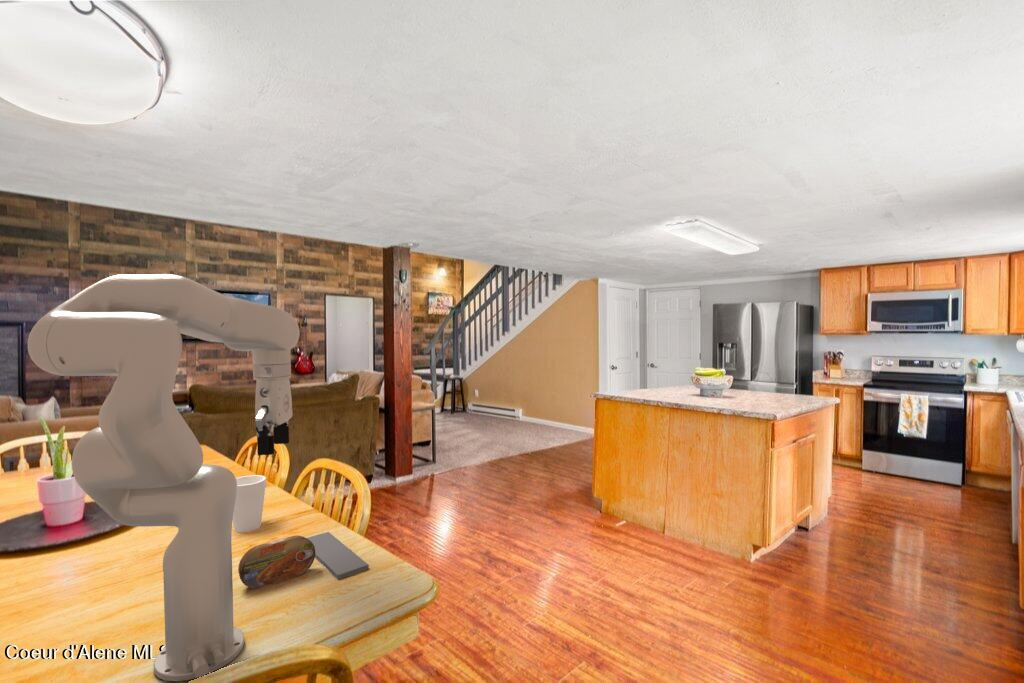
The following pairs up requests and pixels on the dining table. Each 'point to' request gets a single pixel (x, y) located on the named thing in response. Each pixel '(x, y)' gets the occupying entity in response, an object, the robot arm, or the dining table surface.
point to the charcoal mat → (336, 556)
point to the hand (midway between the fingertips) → (274, 448)
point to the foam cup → (249, 503)
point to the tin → (276, 561)
